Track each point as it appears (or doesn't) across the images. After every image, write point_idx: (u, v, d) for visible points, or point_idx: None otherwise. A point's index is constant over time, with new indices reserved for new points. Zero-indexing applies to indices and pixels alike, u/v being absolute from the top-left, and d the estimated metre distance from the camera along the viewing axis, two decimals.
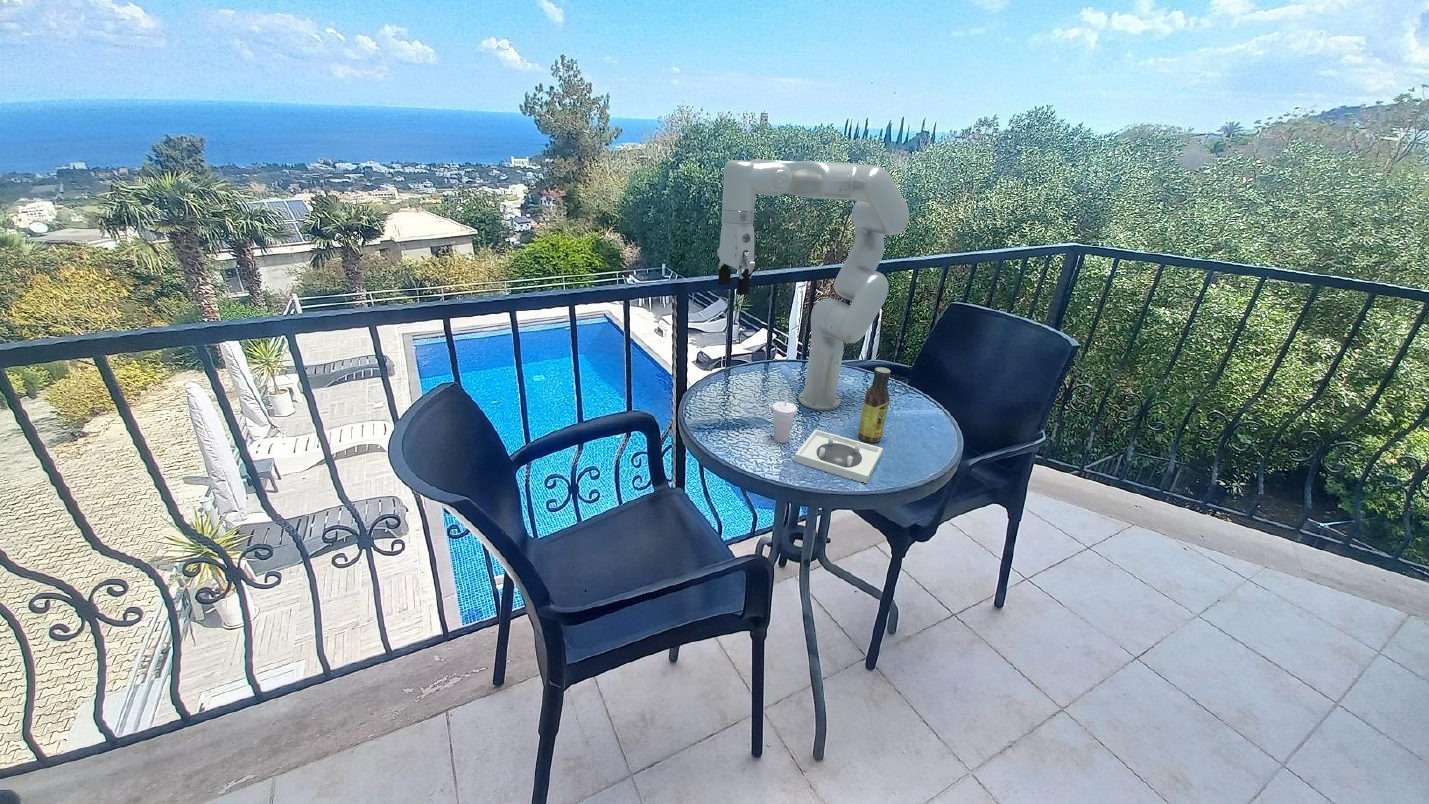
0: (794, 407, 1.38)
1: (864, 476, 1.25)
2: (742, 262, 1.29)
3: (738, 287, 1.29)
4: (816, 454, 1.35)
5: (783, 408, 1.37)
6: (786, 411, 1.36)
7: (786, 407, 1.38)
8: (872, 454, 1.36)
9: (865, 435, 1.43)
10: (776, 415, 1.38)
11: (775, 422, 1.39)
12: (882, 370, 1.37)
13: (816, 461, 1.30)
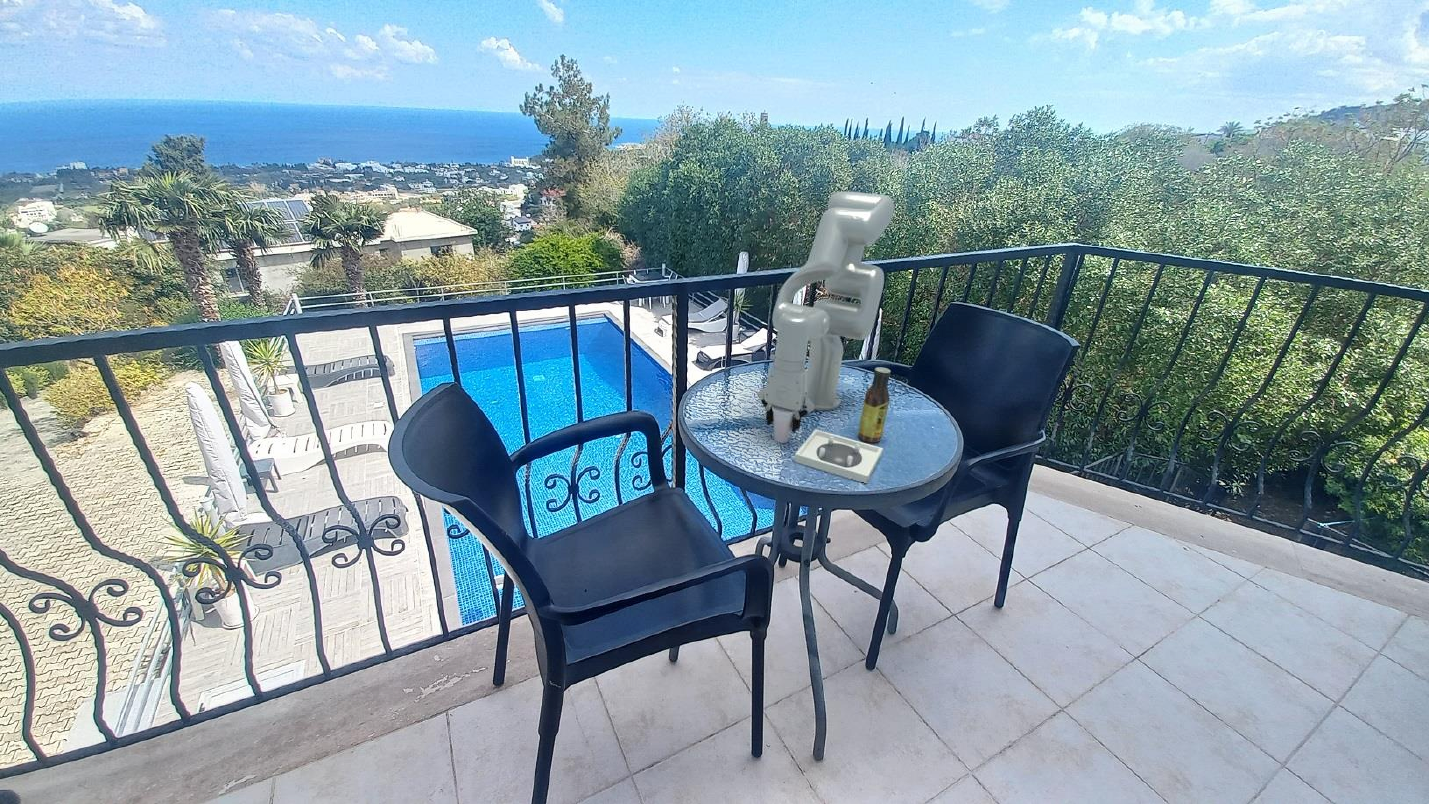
0: None
1: (864, 476, 1.25)
2: None
3: None
4: (816, 454, 1.35)
5: (783, 408, 1.37)
6: (786, 411, 1.36)
7: None
8: (872, 454, 1.36)
9: (865, 435, 1.43)
10: (776, 415, 1.38)
11: (775, 422, 1.39)
12: (882, 370, 1.37)
13: (816, 461, 1.30)
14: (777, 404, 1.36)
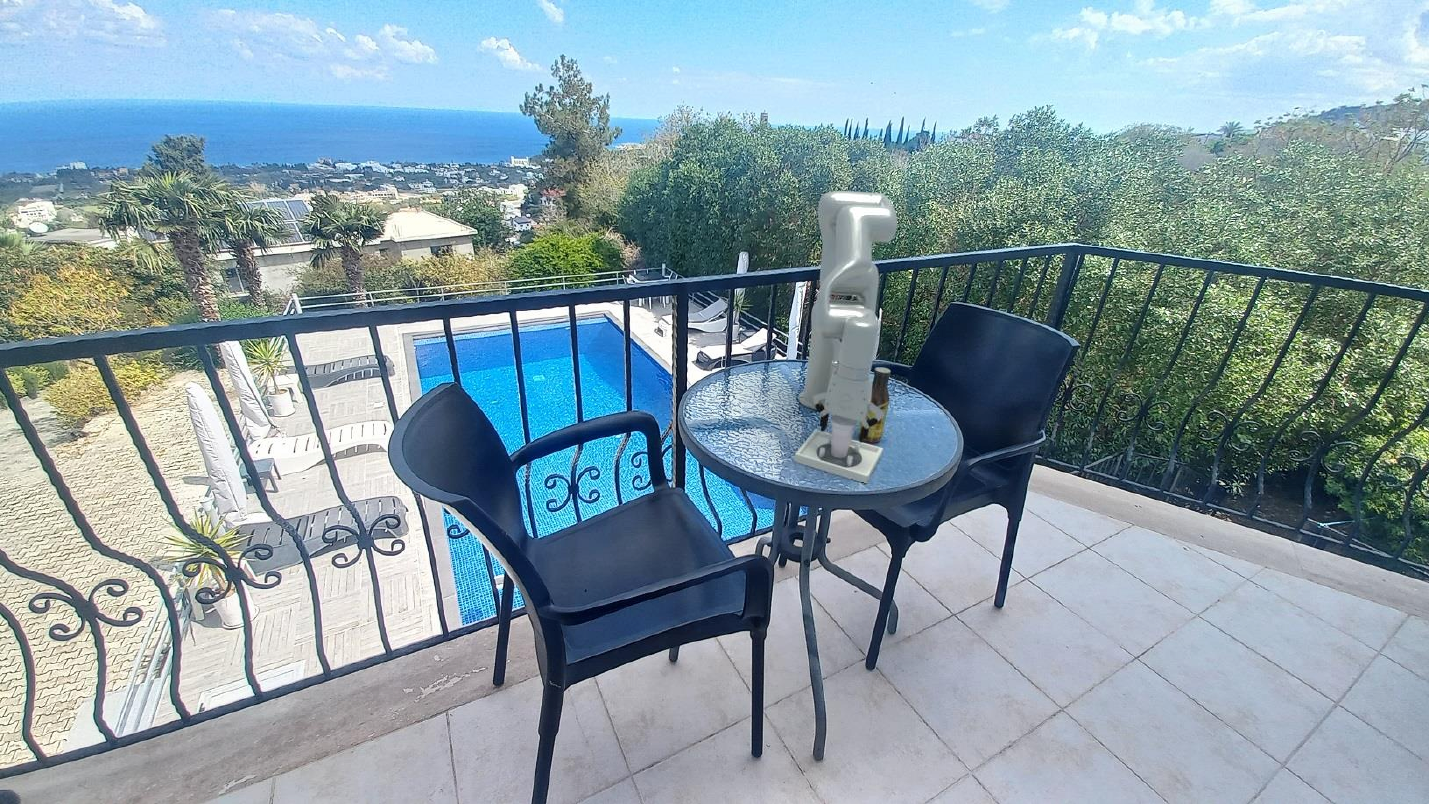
0: (854, 420, 1.31)
1: (864, 476, 1.25)
2: None
3: None
4: (816, 454, 1.35)
5: (843, 421, 1.29)
6: (846, 424, 1.29)
7: (846, 420, 1.30)
8: (872, 454, 1.36)
9: None
10: (835, 429, 1.30)
11: (834, 436, 1.31)
12: (882, 370, 1.37)
13: (816, 461, 1.30)
14: (839, 414, 1.28)
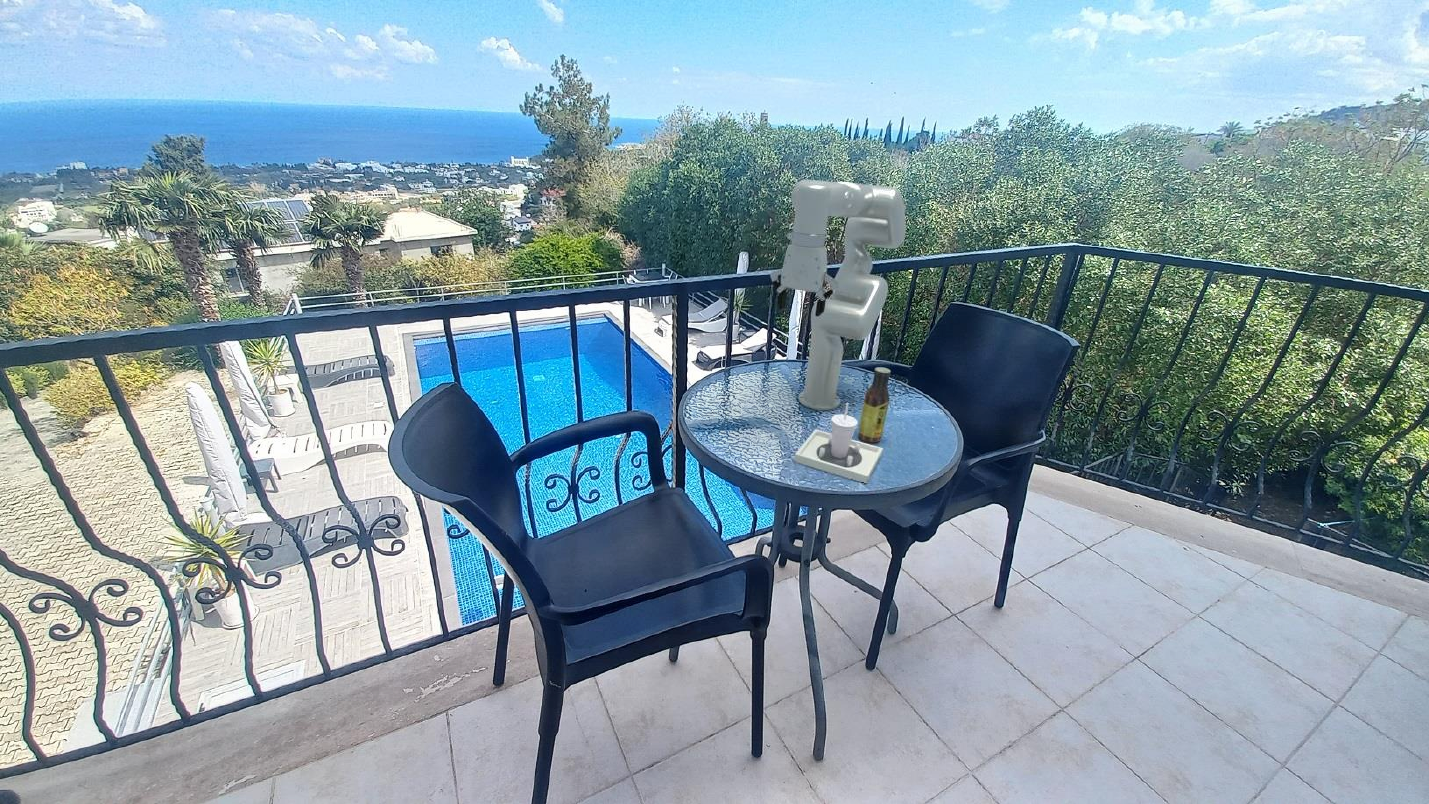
0: (854, 421, 1.31)
1: (864, 476, 1.25)
2: None
3: None
4: (816, 454, 1.35)
5: (843, 422, 1.29)
6: (847, 425, 1.29)
7: (846, 421, 1.30)
8: (872, 454, 1.36)
9: (865, 435, 1.43)
10: (836, 430, 1.30)
11: (834, 436, 1.31)
12: (882, 370, 1.37)
13: (816, 461, 1.30)
14: (795, 286, 1.28)
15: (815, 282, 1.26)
